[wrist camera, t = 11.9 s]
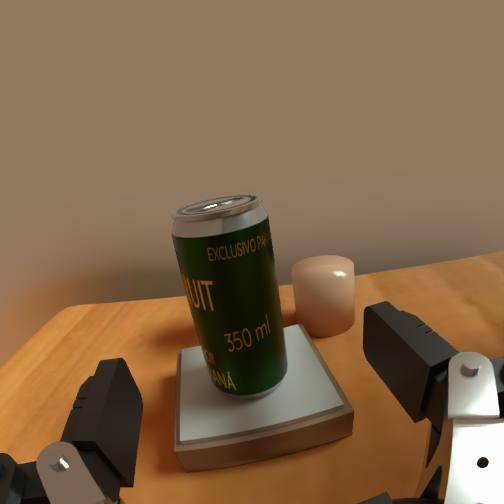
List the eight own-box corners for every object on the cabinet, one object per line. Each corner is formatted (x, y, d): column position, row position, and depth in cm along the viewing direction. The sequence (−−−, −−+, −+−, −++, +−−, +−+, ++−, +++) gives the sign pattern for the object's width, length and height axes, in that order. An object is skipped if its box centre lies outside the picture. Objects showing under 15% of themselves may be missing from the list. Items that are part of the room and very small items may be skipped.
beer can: (257, 344, 24) (229, 192, 20) (305, 373, 20) (286, 194, 16) (199, 376, 21) (153, 213, 17) (241, 416, 17) (194, 221, 13)
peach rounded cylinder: (340, 300, 34) (338, 251, 32) (364, 326, 29) (365, 271, 27) (290, 313, 34) (284, 263, 32) (307, 343, 28) (302, 286, 26)
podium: (304, 347, 27) (301, 320, 26) (351, 434, 17) (354, 406, 16) (185, 372, 26) (176, 346, 25) (187, 472, 16) (171, 448, 15)
